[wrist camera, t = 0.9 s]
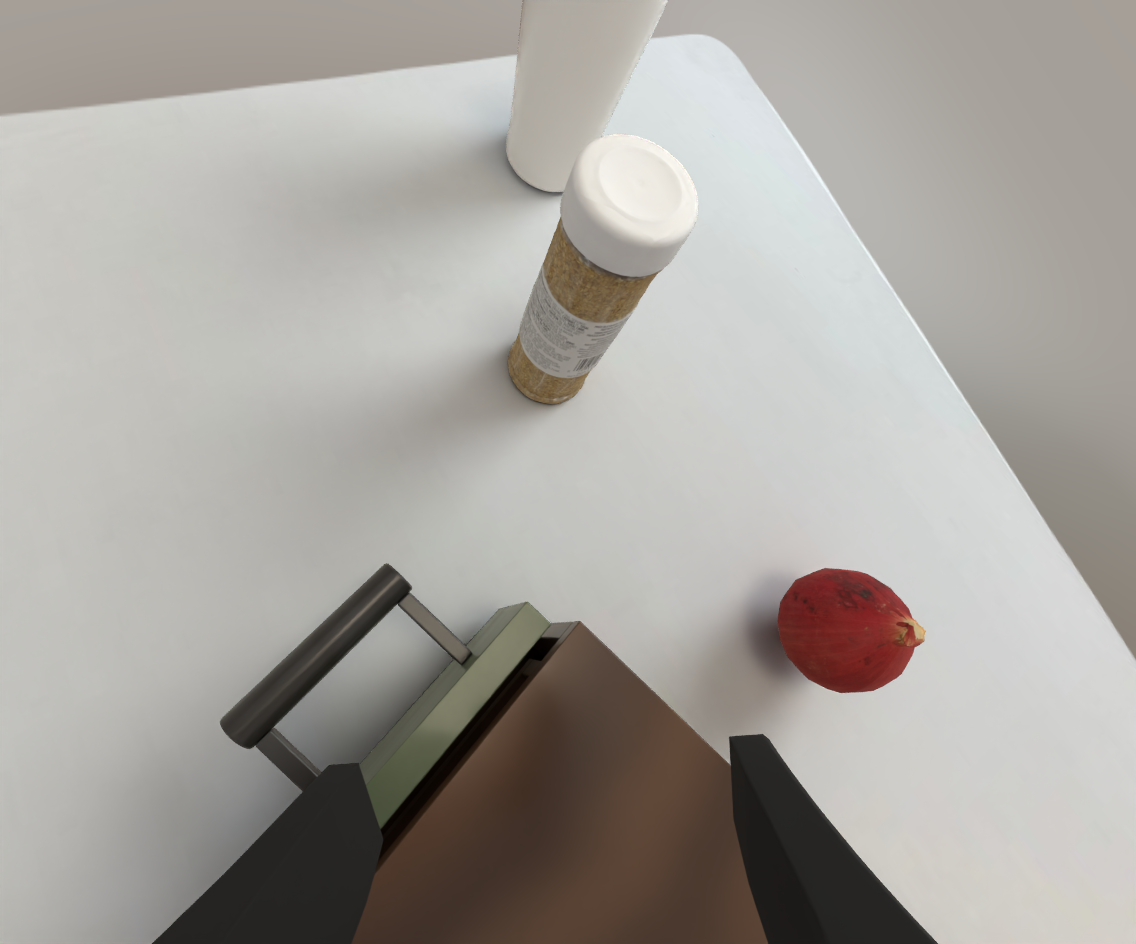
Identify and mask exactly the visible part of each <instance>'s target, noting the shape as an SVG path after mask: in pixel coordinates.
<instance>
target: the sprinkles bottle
mask: <svg viewBox="0 0 1136 944" xmlns="http://www.w3.org/2000/svg"><path fill="white" fill-rule="evenodd" d="M560 212H561V218H560V220H559V223H558V225H557V229H556V231H555V233H554V236H553V239H552V241H551V244H550V247H549V249H548V252H547V255H546V258H545V260H544V263H543V265H542V267H541V269H540V272H539V275H538V278H537V280H536V282H535V284H534V286H533V289H532V292H531V295H530V298H529V300H528V303H527V306H526V309H525V312H524V315H523V318H522V321H521V324H520V330H519V334H518V336H517V339H516V341H515V342H514V344H513V346H512V348H511V350H510V353H509V357H508V367H509V374H510V376H511V378H512V380H513V382H514V383H515V385H516V386H517V388H518V389H519V390H520V391H521V392H522V393H523V394H525V395H526V396H527V397H528V398H531V399H533V400H535V401H538V402H542V403H546V404H547V403H550V404H556V403H561V402H564V401H566V400H568V399H569V398H571V397H573V396H575V395H576V394H577V393H578V391H579V390H580V389H581V387H582V386H583V383H584V381H585V378H586V377H587V375H588V374H589V372H590V371H591V370H592V369H593V368H594V367H595V366H596V364H597V363H598V362H599V360H600V359H601V357H602V356H603V354H604V353H605V352H606V350H607V349H608V347H609V346H610V344H611V343H612V342H613V340H614V339H615V338H616V336H617V335H618V333H619V332H620V330H621V329H622V327H623V326H624V324H625V323H626V321H627V320H628V319H629V317H630V316H631V314H632V313H633V311H634V310H635V308H636V307H637V305H638V302H639V300H640V298H641V297H642V296H643V294H644V293H645V291H646V289H647V288H648V286H649V284H650V283H651V281H652V280H653V279H654V277H655V276H656V275H657V274H658V273H659V272H660V271H661V270H663V269H664V268H665V267H666V266H667V265H668V264H669V263H670V262H671V261H672V260H673V258H674V257H675V256H676V254H677V253H678V251H679V250H680V248H681V247H682V245H683V244H684V242H685V241H686V239H687V237H688V236H689V234H690V233H691V231H692V229H693V227H694V225H695V223H696V220H697V216H698V197H697V193H696V189H695V186H694V184H693V181H692V179H691V178H690V176H689V174H688V173H687V171H686V170H685V168H684V167H683V166H682V165H681V163H680V162H679V161H678V160H677V159H676V158H675V157H674V156H673V155H671V154H670V153H669V152H667V151H666V150H665V149H663V148H662V147H660V146H659V145H657V144H655V143H653V142H651V141H649V140H646V139H644V138H641V137H637V136H633V135H626V134H612V135H606V136H603V137H600V138H597V139H595V140H593V141H592V142H590V143H589V144H588V145H586V146H585V147H584V148H583V149H582V150H581V152H580V153H579V155H578V157H577V158H576V160H575V163H574V165H573V168H572V170H571V173H570V176H569V178H568V181H567V184H566V187H565V190H564V193H563V196H562V199H561V207H560Z"/></svg>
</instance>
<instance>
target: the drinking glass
mask: <svg viewBox="0 0 1136 944" xmlns="http://www.w3.org/2000/svg"><path fill="white" fill-rule="evenodd" d="M667 2H668V0H523V3H522V13H521V23H520V34H519V44H518V53H517V63H516V73H515V82H514V92H513V101H512V110H511V118H510V124H509V129H508V134H507V140H506V152H507V157H508V160H509V162H510V164H511V166H512V168H513V169H514V171H515V172H516V173H517V175H518V176H519V177H520V178H521V179H523V180H524V181H525V182H526V183H528V184H530V185H531V186H533V187H535V188H538V189H540V190H543V191H548V192H563V191H564V190H565V187H566V184H567V181H568V178H569V176H570V173H571V170H572V168H573V165H574V163H575V160H576V158H577V157H578V155H579V153H580V152H581V150H582V149H583V148H584V147H585V146H586V145H588V144H589V143H590V142H592V141H593V140H595V139H597V138H600V137H602V135H603V133H604V131H605V129H606V127H607V125H608V123H609V121H610V119H611V117H612V115H613V112H614V110H615V108H616V106H617V104H618V102H619V100H620V98H621V96H622V94H623V92H624V90H625V88H626V86H627V84H628V82H629V80H630V78H631V76H632V74H633V72H634V70H635V68H636V66H637V64H638V62H639V60H640V58H641V56H642V54H643V52H644V50H645V48H646V46H647V44H648V42H649V40H650V38H651V36H652V34H653V32H654V30H655V28H656V26H657V24H658V21H659V19H660V17H661V15H662V13H663V11H664V9H665V7H666V4H667Z"/></svg>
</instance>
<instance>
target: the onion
mask: <svg viewBox="0 0 1136 944" xmlns="http://www.w3.org/2000/svg"><path fill="white" fill-rule="evenodd" d="M778 628H779V636H780V641H781V643H782V645H783V648H784V650H785V652H786V654H787V657H788V658H789V659H790V660H791V661H792V662H793V664H794V665H795V666H796V667H797V668H798V669H799V670H800V671H801V672H802V673H803V674H804V675H805V676H806V677H807V678H808V679H809V680H811V681H813V682H815V683H817V684H819V685H821V686H823V687H825V688H827V689H830V690H833V691H836V692H840V693H850V692H866V691H874V690H876V689H878V688H880V687H882V686H884V685H886V684H887V683H889V682H891V681H892V680H894V679H896V678H897V677H898V676H899V675H901V674H902V672H903V671H904V669H905V667H906V665H907V664H908V662H909V660H910V658H911V657H912V654H913V652H914V647H916V646H918V645H920V644H921V643H923V642H924V635H925V632H926V631H925V630H924V629H923V628H922V627H921V626H920V625H919V624H918V623H917V622H916V621H915V620H914V619H913V618H912V616H911V613H910V611H909V609H908V607H907V606H906V605H905V604H904V603H903V601H902V600H901V599H900V598H899V597H898V596H897V595H896V594H895V593H894V592H893V591H892V589H891V588H889V587H888V586H886V585H884V584H883V583H881V582H880V581H878V580H876V579H875V578H873V577H871V576H870V575H868V574H865V573H862V572H858V571H851V570H842V569H829V568H824V569H822V570H819V571H816V572H813V573H811V574H808V575H806V576H804V577H801V578H799V579H797V580H795V582H794V583H793V584H792V586H791V587H790V588H789V590H788V591H787V593H786V594H785V595H784V597H783V599H782V600H781V602H780V608H779V614H778Z"/></svg>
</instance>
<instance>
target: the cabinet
mask: <svg viewBox="0 0 1136 944" xmlns="http://www.w3.org/2000/svg"><path fill="white" fill-rule="evenodd" d="M550 624H551V626H550V627H549V628H548V629H547V630H546V632H545V633H544V634H543V635H542V636H541V638H540V639H539V640H538V641H537V642H536V644H535V645H534V646H533V647H532V648H531V650H530V651H529V652H528V653H527V654H526V656H525V657H524V658H523V659H522V660H521V662H520V663H519V664H518V665H517V666H516V668H515V669H514V670H513V671H512V672H511V674H510V675H509V676H508V677H507V678H506V680H505V681H504V682H503V683H502V684H501V686H500V687H499V688H498V689H497V690H496V692H495V693H494V694H493V695H492V696H491V698H490V699H489V700H488V701H487V702H486V704H485V705H484V706H483V707H482V708H481V710H480V711H479V712H478V713H477V714H476V716H475V717H474V718H473V719H472V720H471V722H470V723H469V724H468V725H467V726H466V727H465V729H464V730H463V731H462V732H461V733H460V735H459V736H458V737H457V738H456V739H455V741H454V742H453V743H452V744H451V745H450V747H449V748H448V749H447V750H446V751H445V753H444V754H443V755H442V756H441V757H440V759H439V760H438V761H437V762H436V763H435V765H434V766H433V767H432V768H431V769H430V771H429V772H428V773H427V774H426V775H425V777H424V778H423V779H422V780H421V781H420V783H419V784H418V785H417V786H416V787H415V789H414V790H413V791H412V792H411V793H410V795H409V796H408V797H407V798H406V799H405V801H404V802H403V803H402V804H401V805H400V807H399V808H398V809H397V810H396V811H395V813H394V814H393V815H392V816H391V817H390V819H389V820H388V821H387V822H386V823H385V825H384V826H383V827H382V828H381V829H380V830H381V833H382V836H383V835H384V834H385V833H386V831H387V830H388V829H389V828H390V827H391V825H392V824H393V823H394V822H395V821H396V819H397V818H398V817H399V816H400V814H401V813H402V812H403V811H404V810H405V808H406V807H407V806H408V805H409V804H410V802H411V801H412V800H413V799H414V798H415V796H416V795H417V794H418V793H419V792H420V790H421V789H422V788H423V787H424V785H425V784H426V783H427V782H428V781H429V779H430V778H431V777H432V776H433V775H434V773H435V772H436V771H437V770H438V769H439V767H440V766H441V765H442V764H443V762H444V761H445V760H446V759H447V758H448V756H449V755H450V754H451V753H452V752H453V750H454V749H455V748H456V747H457V746H458V744H459V743H460V742H461V741H462V740H463V738H464V737H465V736H466V735H467V733H468V732H469V731H470V730H471V729H472V727H473V726H474V725H475V724H476V723H477V721H478V720H479V719H480V718H481V717H482V715H483V714H484V713H485V712H486V711H487V709H488V708H489V707H490V706H491V704H492V703H493V702H494V701H495V700H496V698H497V697H498V696H499V695H500V694H501V692H502V691H503V690H504V689H505V688H506V686H507V685H508V684H509V683H510V682H511V680H512V679H513V678H514V677H515V675H516V674H517V673H518V672H519V671H520V669H521V668H522V667H523V666H524V665H525V663H526V662H527V661H528V660H529V659H534V660H538V661H541V662H540V663H539V664H538V666H537V667H536V668H535V669H534V671H533V672H532V673H531V674H530V675H529V677H528V678H527V679H526V680H525V682H524V683H523V684H522V685H521V686H520V688H519V689H518V690H517V691H516V693H515V694H514V695H513V696H512V698H511V699H510V700H509V701H508V702H507V704H506V705H505V706H504V707H503V709H502V710H501V711H500V712H499V713H498V715H497V716H496V717H495V718H494V720H493V721H492V722H491V723H490V725H489V726H488V727H487V728H486V729H485V731H484V732H483V733H482V734H481V736H480V737H479V738H478V739H477V741H476V742H475V743H474V744H473V745H472V747H471V748H470V749H469V750H468V752H467V753H466V754H465V755H464V756H463V758H462V759H461V760H460V761H459V763H458V764H457V765H456V766H455V768H454V769H453V770H452V771H451V772H450V774H449V775H448V776H447V777H446V779H445V780H444V781H443V782H442V783H441V785H440V786H439V787H438V788H437V790H436V791H435V792H434V793H433V795H432V796H431V797H430V798H429V799H428V801H427V802H426V803H425V804H424V806H423V807H422V808H421V809H420V810H419V812H418V813H417V814H416V815H415V817H414V818H413V819H412V820H411V822H410V823H409V824H408V825H407V826H406V828H405V829H404V830H403V831H402V833H401V834H400V835H399V836H398V838H397V839H396V840H395V841H394V842H393V844H392V845H391V846H390V847H389V849H388V850H387V851H386V852H385V853H384V855H383V856H382V857H381V858H380V860H379V861H378V863H377V867H376V871H375V875H374V878H373V882H372V885H371V889H370V892H369V896H368V900H367V903H366V906H365V908H364V911H363V914H362V917H361V919H360V922H359V925H358V927H357V930H356V933H355V935H354V938H353V941H352V943H351V944H768V942H767V939H766V936H765V932H764V929H763V926H762V923H761V920H760V917H759V914H758V911H757V908H756V905H755V902H754V899H753V896H752V893H751V889H750V886H749V883H748V879H747V875H746V871H745V866H744V862H743V858H742V854H741V850H740V845H739V841H738V837H737V832H736V828H735V824H734V819H733V801H732V781H731V765H730V764H729V763H727V762H726V761H725V760H724V759H723V758H722V757H721V756H720V755H719V754H718V753H717V752H716V751H715V750H714V749H713V748H712V747H711V746H710V745H709V744H708V743H707V742H706V741H705V740H704V739H702V738H701V737H700V736H699V735H698V734H697V733H696V732H695V731H694V730H693V729H692V728H691V727H690V726H689V725H688V724H687V723H686V722H685V721H684V720H683V719H682V718H681V717H680V716H679V715H678V714H676V713H675V712H674V711H673V710H672V709H671V708H670V707H669V706H668V705H667V704H666V703H665V702H664V701H663V700H662V699H661V698H660V697H659V696H658V695H657V694H656V693H655V692H654V691H653V690H651V689H650V688H649V687H648V686H647V685H646V684H645V683H644V682H643V681H642V680H641V679H640V678H639V677H638V676H637V675H636V674H635V673H634V672H633V671H632V670H631V669H630V668H629V667H628V666H627V665H625V664H624V663H623V662H622V661H621V660H620V659H619V658H618V657H617V656H616V655H615V654H614V653H613V652H612V651H611V650H610V649H609V648H608V647H607V646H606V645H605V644H604V643H603V642H602V641H600V640H599V639H598V638H597V637H596V636H595V635H594V634H593V633H592V632H591V631H590V630H589V629H588V628H587V627H586V626H585V625H584V624H583V623H582V622H581V621H575V622H562V623H550Z"/></svg>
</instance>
